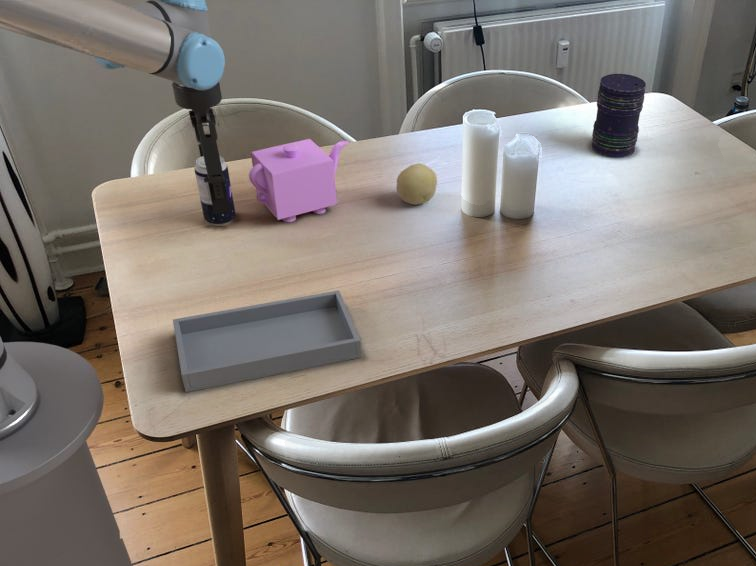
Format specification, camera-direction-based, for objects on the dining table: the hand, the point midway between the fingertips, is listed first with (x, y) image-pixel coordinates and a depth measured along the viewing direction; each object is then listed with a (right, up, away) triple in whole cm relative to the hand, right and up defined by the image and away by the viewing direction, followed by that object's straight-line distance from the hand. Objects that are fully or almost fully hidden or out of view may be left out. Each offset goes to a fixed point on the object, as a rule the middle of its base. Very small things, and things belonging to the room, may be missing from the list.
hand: (217, 193), depth 151 cm
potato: (+36, 0, +12) cm, 37 cm away
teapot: (+14, -1, +9) cm, 17 cm away
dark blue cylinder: (+78, +17, +34) cm, 86 cm away
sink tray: (+16, -28, -25) cm, 41 cm away
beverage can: (0, -4, +3) cm, 6 cm away
